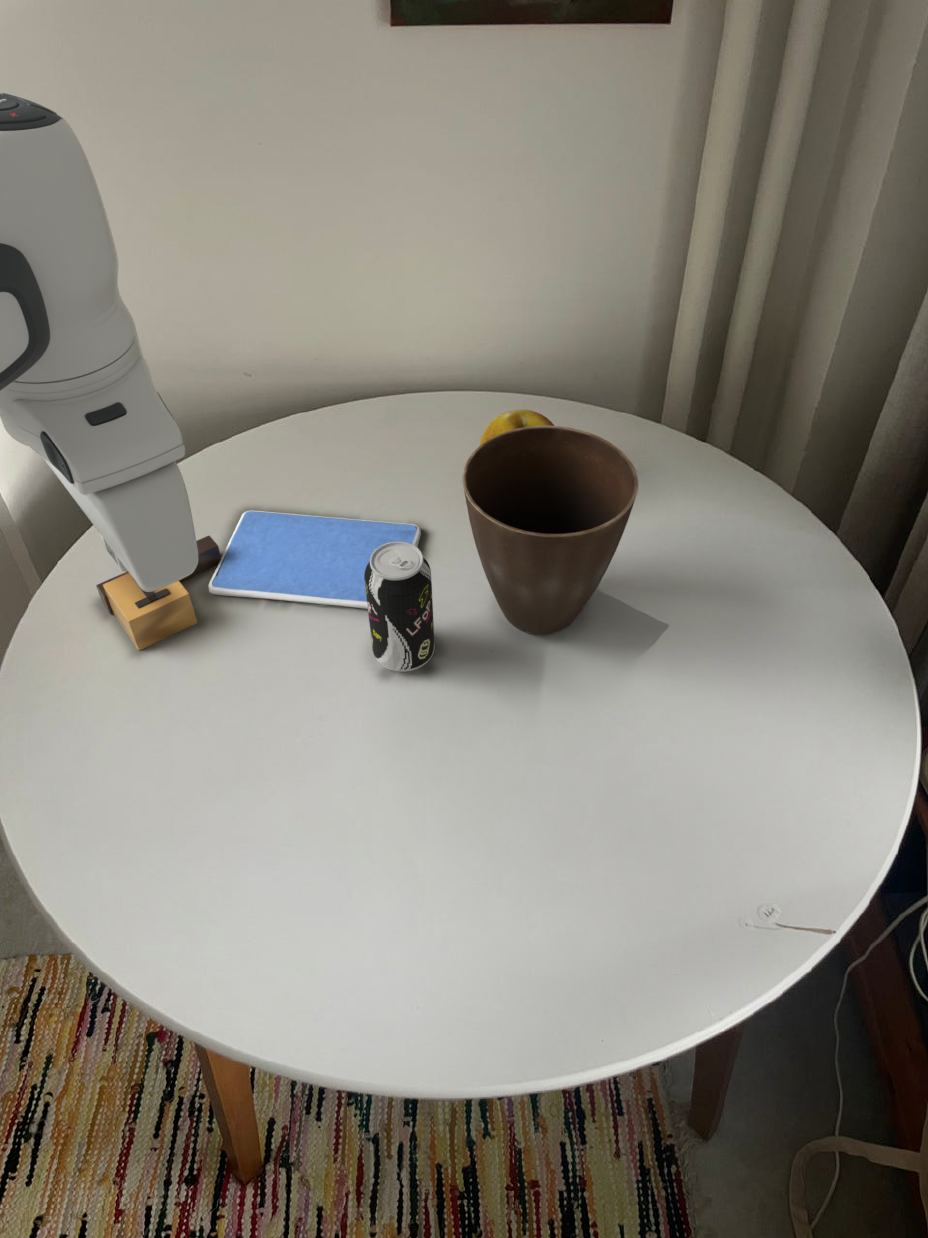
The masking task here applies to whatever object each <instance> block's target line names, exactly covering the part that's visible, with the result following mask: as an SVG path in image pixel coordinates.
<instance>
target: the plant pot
mask: <svg viewBox="0 0 928 1238" xmlns="http://www.w3.org/2000/svg"><path fill="white" fill-rule="evenodd" d="M462 486H463V487H462V488H463V491H464V498H465V502H466V503H465V504H466V508H467V514H468V520H469V525H470V528H471V529H470V530H471V532H472V536H473V540H474V544H475V547H476V548H475V549H476V550H477V554H478V557H479V560H480V563H481V566H482V569H483V572H484V574H485V577H486V579H487V582H488V584H489V587H490V590H491V591H492V594H493V596H494V598H495V600H496V602H497V604H498V606H499V608H500V610H501V612H502V614H503V616H504V618H505V619H506V620H507V621H508V623H510V625H512V626H513V627H515V628H516V629H518V630H520V631H522V632H525V633H528V634H533V635H543V636H544V635H551V634H556V633H559V632H561V631H564V630H566V629H567V628H569V627H570V626H571V625H572V624H573V623H574V622H575V621H576V619H577V618H578V617H579V615H580V614H581V613H582V611H583V610H584V608H585V607H586V605H587V604H588V603H589V601H590V599H591V598H592V596H594V594H595V591H596V590H597V589H598V587H599V585H600V583H601V581H602V580H603V578H604V576H605V574H606V572H607V570H608V568H609V566H610V564H611V562H612V560H613V558H614V556H615V553H616V551H617V549H618V547H619V545H620V542H621V540H622V538H623V535H624V533H625V530H626V527H627V524H628V521H629V519H630V517H631V513H632V510H633V508H634V504H635V501H636V498H637V495H638V491H639V478H638V474H637V470H636V468H635V467H634V464H633V462H632V461H631V460H630V458H629V457H628V456H627V455H626V454H625V453H624V452H623V450H621V449H620V448H618V446H616V445H615V444H614V443H612V442H610V441H608V440H606V439H605V438H604V437H603V438H602V437H601V436H599V435H596V434H594V433H592V432H589V431H586V430H582V429H578V428H573V427H568V426H562V425H561V426H560V425H554V426H530V427H524V428H518V429H514V430H510V431H507V432H504V433H502V434H499V435H497V436H495V437H493V438H491V439H489V440H487V441H486V442H484V443H483V444H481V445H480V444H479V445H478V447H477V448H476V449H474V450H473V451H472V452H471V454H470V455H469V456H468V458H467V460H466V462H465V465H464V467H463V470H462Z"/></svg>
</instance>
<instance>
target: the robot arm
mask: <svg viewBox="0 0 928 1238" xmlns="http://www.w3.org/2000/svg"><path fill="white" fill-rule="evenodd" d="M118 277H119V257H118V252H117V248H116V245H115V241H114V236H113V233H112V230H111V226H110V221H109V219H108V215H107V211H106V208H105V205H104V202H103V198H102V195H101V192H100V190H99V187H98V184H97V181H96V178H95V175H94V172H93V169H92V167H91V164H90V162H89V159H88V157H87V155H86V152H85V150H84V149H83V146H82V145H81V142H80V140H79V138H78V136H77V135H76V133H75V132H74V130H73V128H72V127H71V125H70V124H69V122H68V121H67V120H66V119H65V118H63V117H61V116H60V115H58V113H57V112H55V111H54V110H52V109H51V108H48V107H46V106H44V105H41V104H39V103H37V102H34V101H32V100H29V99H26V98H23V97H20V96H18V95H12V94H9V93H6V92H5V93H4V92H1V93H0V420H1V423H2V426H3V428H4V430H5V431H6V433H7V434H8V435H9V436H10V437H11V438H12V439H13V440H15V441H16V442H18V443H20V444H22V445H24V446H27V447H29V448H30V449H31V450H32V451H33V452H34V453H36V454H37V455H38V456H40V457H42V458H43V460H44V461H45V462H46V464H47V465H48V467H49V468H50V469H51V470H52V472H53V473H54V475H55V476H56V477H57V478H58V480H59V482H61V484H62V485H63V486H64V488H65V489H66V491H67V492H68V493H69V494H70V496H71V497H72V498H73V500H74V501H75V502H76V504H77V505H78V506H79V508H80V509H81V510H82V512H83V513H84V515H85V516H86V517H87V519H88V520H89V521H90V522H91V524H92V525H93V526H94V528H95V529H96V530H97V532H98V533H99V536H100V538H101V541H102V544H103V547H104V548H105V550H106V551H107V553H108V555H109V556H110V557H111V558H112V559H113V561H114V562H115V563H116V564H117V566H118V567H119V568H120V570H121V571H122V572H123V573H125V572H129V573H130V574H131V576H132V577H133V578H134V580H135V581H136V582H137V584H138V585H139V587H140V588H141V589H142V590H144V591H146V592H152V591H155V590H158V589H160V588H163V587H165V586H168V585H170V584H173V583H175V582H177V581H179V580H181V579H183V578H185V577H187V576H189V575H190V574H192V573H193V572H194V570H195V569H196V567H197V564H198V548H197V542H196V541H197V537H196V530H195V523H194V519H193V513H192V509H191V503H190V499H189V494H188V491H187V486H186V483H185V480H184V477H183V475H182V471H181V470H180V467H179V465H178V464H177V462H176V461H177V460H180V459H182V458H184V457H185V456H186V448H185V441H184V438H183V433H182V432H181V429H180V427H179V426H178V424H177V422H176V421H175V419H174V417H173V415H172V414H171V412H170V410H169V409H168V407H167V405H166V404H165V402H164V400H163V399H162V396H161V395H160V393H159V392H158V390H157V389H156V387H155V384H154V383H153V380H152V375H151V371H150V368H149V364H148V362H147V360H146V359H145V357H144V355H143V351H142V346H141V343H140V339H139V336H138V332H137V328H136V324H135V321H134V318H133V315H132V314H131V312H130V310H129V308H128V307H127V305H126V304H125V301H124V300H123V298H122V296H121V293H120V289H119V281H118V280H119V278H118Z"/></svg>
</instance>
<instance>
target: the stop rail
mask: <svg viewBox="0 0 928 1238" xmlns="http://www.w3.org/2000/svg"><path fill="white" fill-rule="evenodd" d="M196 542H197V548H198V564H197V567H196V569H195V570H194V572H193V573H192V574H190V575H189V576H187V577H185V578H183V579H181V580H179V581H180V583H181V584H182V583H183V582H186V581H187V580H190V579H192V578H194V577H196V576H198V575H201V574H203V573H206V572H207V571H209V570H211V569H214V568H217V566H218V564H219V562H220V560H221V558H222V555H221V552H220V547H219V545H218V544H217V542H215V540H214V539H213V538H212V537H211V535H206V536H204V537H202V538H199V539H198V540H197V539H196ZM128 573H129V572H123V573H119V574H118V575H116V576H114V577H111V578H109V579H107V580H104V581H102V582H100V583H98V584H96V590H97V592H98V595H99V597H100V600H101V602H102V604H103V606H104V608H106V610H107V612H108V613H109V614H110V615H114V613H113V611H112V608H111V605H110V603H109V600H108V597H107V595H106V592H105V589H104V587H103V584H105V583H107V582H110V581H112V580H114V579H116V578H119V577H121V576H123V575H126V574H128Z"/></svg>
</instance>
